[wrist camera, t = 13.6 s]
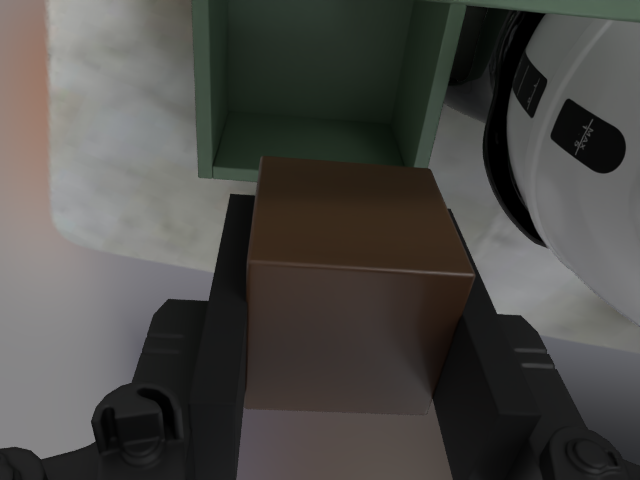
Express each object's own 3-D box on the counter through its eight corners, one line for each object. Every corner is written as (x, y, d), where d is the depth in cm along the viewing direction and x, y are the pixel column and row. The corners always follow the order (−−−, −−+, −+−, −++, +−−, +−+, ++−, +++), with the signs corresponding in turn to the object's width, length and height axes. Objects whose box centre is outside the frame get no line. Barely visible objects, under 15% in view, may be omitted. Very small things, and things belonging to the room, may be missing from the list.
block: (260, 153, 13) (246, 261, 10) (431, 167, 14) (478, 275, 10) (255, 286, 16) (242, 410, 12) (399, 294, 16) (427, 417, 13)
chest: (398, 130, 37) (421, 194, 30) (218, 116, 36) (198, 178, 29) (447, -118, 29) (495, -111, 22) (214, -146, 28) (185, -149, 21)
